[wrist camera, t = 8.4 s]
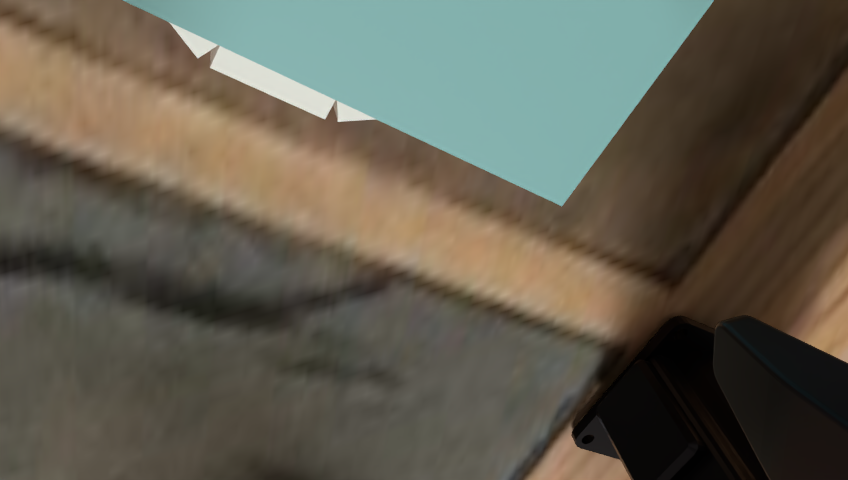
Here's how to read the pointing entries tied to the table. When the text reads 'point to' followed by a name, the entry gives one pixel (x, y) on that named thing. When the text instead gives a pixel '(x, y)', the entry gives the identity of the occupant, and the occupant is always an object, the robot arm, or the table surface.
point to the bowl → (268, 79)
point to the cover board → (466, 68)
